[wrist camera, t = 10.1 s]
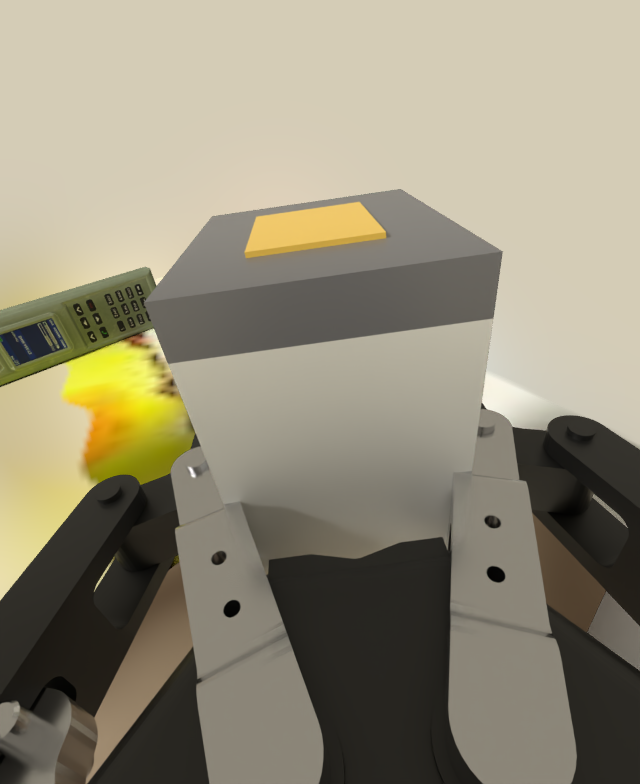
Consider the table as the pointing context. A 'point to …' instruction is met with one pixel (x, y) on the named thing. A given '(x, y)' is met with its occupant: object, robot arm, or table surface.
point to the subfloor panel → (173, 641)
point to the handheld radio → (72, 323)
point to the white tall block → (332, 366)
